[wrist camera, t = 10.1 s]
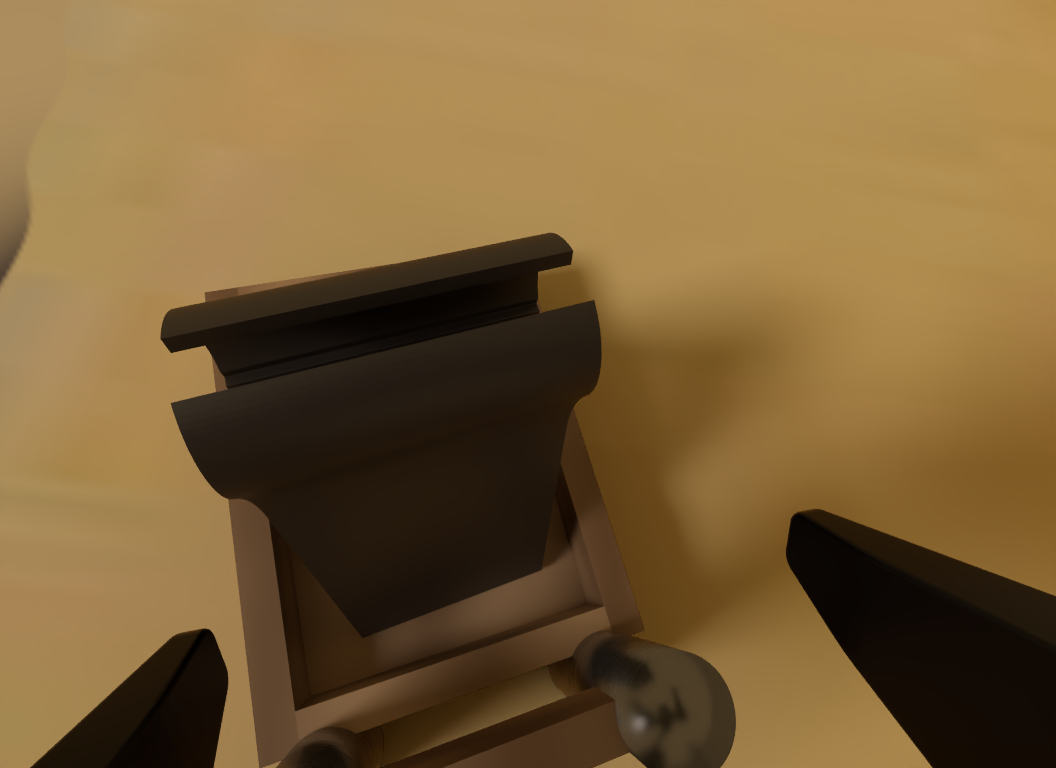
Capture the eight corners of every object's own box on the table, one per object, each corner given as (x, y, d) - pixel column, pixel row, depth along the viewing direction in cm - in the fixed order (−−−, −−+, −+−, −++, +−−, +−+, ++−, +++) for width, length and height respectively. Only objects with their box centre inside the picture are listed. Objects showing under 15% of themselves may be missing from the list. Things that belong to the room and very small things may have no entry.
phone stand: (539, 571, 18) (704, 560, 7) (362, 637, 17) (219, 754, 6) (463, 340, 21) (497, 63, 10) (303, 379, 19) (122, 102, 8)
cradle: (298, 810, 16) (179, 1017, 8) (236, 331, 20) (122, 190, 13) (632, 682, 18) (765, 752, 11) (510, 285, 23) (545, 145, 16)
